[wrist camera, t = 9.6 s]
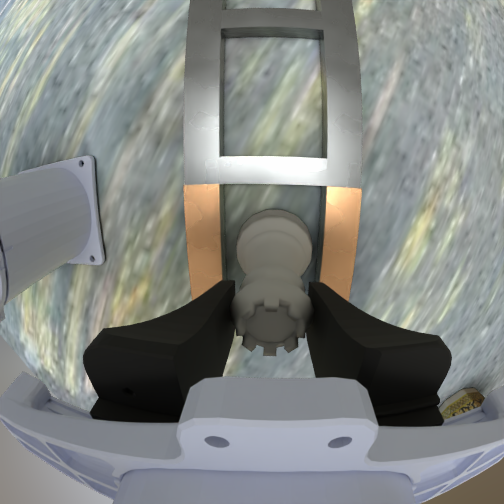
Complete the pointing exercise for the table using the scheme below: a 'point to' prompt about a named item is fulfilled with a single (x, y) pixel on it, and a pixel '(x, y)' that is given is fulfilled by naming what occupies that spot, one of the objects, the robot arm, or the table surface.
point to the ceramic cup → (461, 403)
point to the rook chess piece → (272, 282)
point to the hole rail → (272, 167)
